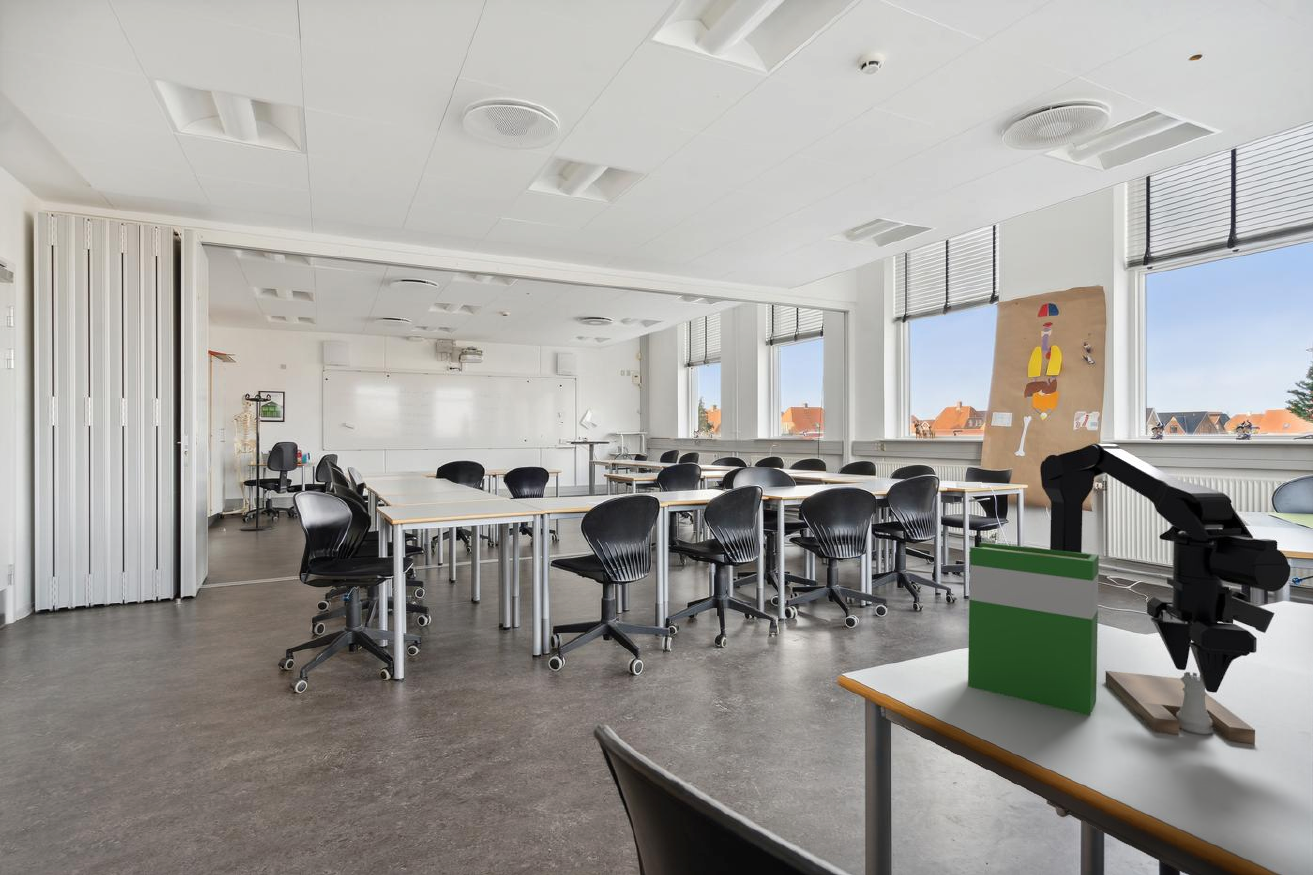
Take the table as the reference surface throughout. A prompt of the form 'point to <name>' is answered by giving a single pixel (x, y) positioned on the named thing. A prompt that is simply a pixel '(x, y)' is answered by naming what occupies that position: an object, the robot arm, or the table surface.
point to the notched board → (1172, 705)
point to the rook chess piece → (1194, 706)
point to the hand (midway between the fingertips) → (1195, 680)
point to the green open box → (1034, 625)
